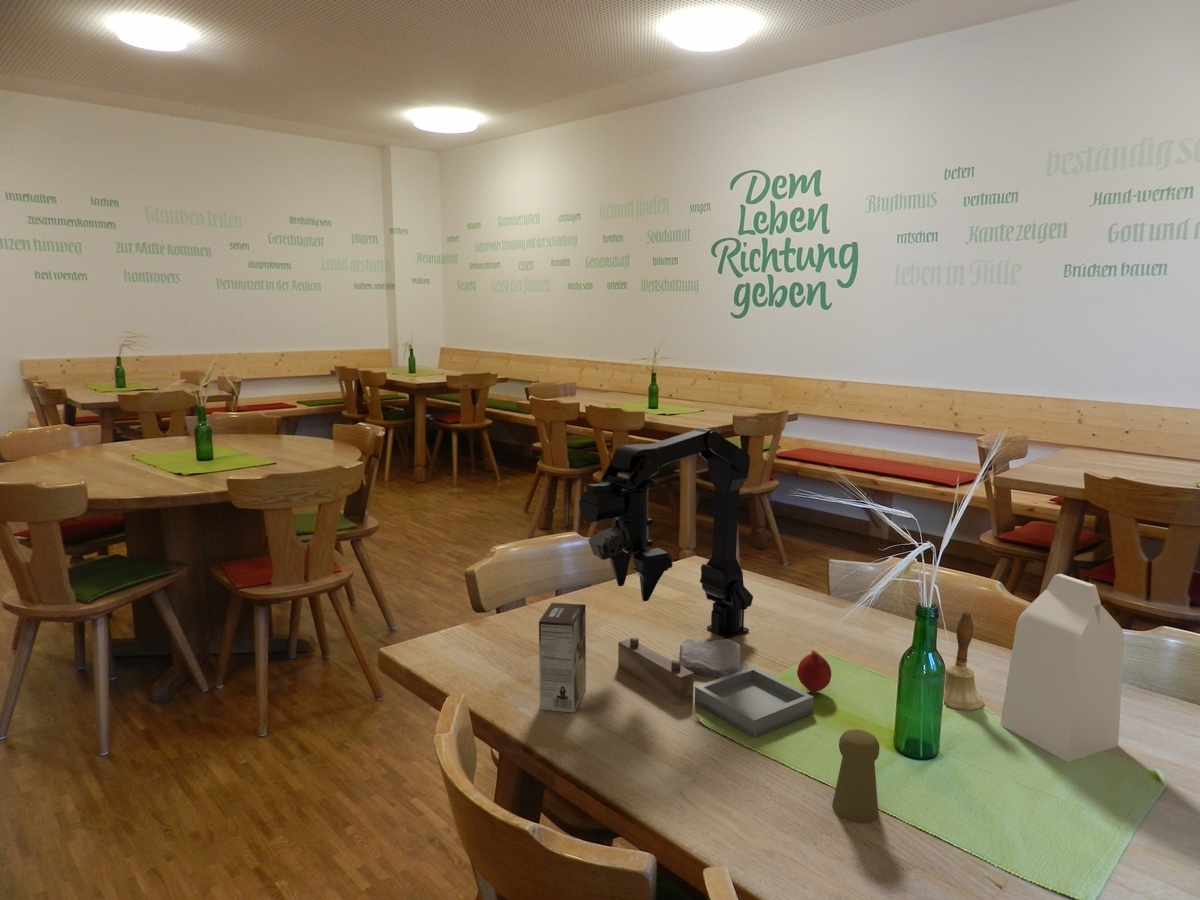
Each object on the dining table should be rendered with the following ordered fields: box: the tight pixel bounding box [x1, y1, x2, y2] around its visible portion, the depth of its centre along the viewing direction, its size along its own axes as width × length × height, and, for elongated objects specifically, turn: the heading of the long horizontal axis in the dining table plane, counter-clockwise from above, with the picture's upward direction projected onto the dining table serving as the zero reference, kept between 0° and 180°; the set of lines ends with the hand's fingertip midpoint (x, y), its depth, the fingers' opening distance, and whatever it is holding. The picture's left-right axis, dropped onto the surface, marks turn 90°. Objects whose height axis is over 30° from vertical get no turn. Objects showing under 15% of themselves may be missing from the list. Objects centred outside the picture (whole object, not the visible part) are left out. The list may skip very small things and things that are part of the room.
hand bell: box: [943, 611, 985, 711], centre depth 139 cm, size 8×8×16 cm
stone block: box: [678, 638, 743, 678], centre depth 153 cm, size 12×5×10 cm
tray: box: [694, 666, 815, 739], centre depth 137 cm, size 14×14×3 cm
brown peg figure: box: [831, 728, 880, 824], centre depth 108 cm, size 6×6×11 cm
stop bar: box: [617, 637, 695, 705], centre depth 146 cm, size 3×18×6 cm, turn 35°
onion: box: [796, 648, 832, 694], centre depth 142 cm, size 6×6×8 cm
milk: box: [999, 573, 1125, 763], centre depth 126 cm, size 12×12×26 cm
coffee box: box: [538, 602, 587, 713], centre depth 138 cm, size 9×6×16 cm
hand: (632, 593), depth 152 cm, fingers open, 9 cm apart
